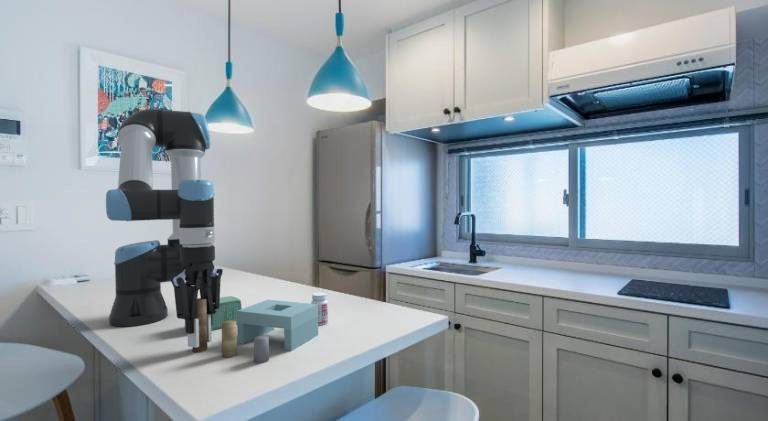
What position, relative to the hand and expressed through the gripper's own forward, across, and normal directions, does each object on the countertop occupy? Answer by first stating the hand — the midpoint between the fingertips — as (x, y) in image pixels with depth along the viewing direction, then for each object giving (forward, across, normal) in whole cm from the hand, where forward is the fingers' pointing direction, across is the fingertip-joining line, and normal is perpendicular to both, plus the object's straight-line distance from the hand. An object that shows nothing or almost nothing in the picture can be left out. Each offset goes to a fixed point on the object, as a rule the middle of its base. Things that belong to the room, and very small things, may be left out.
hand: (199, 343), depth 94 cm
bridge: (+2, +13, -13) cm, 18 cm away
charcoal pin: (+2, 0, -18) cm, 18 cm away
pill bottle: (+2, +28, -16) cm, 32 cm away
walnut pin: (+2, 0, 0) cm, 2 cm away
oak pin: (+2, 0, -9) cm, 9 cm away
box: (+2, +15, +11) cm, 19 cm away
